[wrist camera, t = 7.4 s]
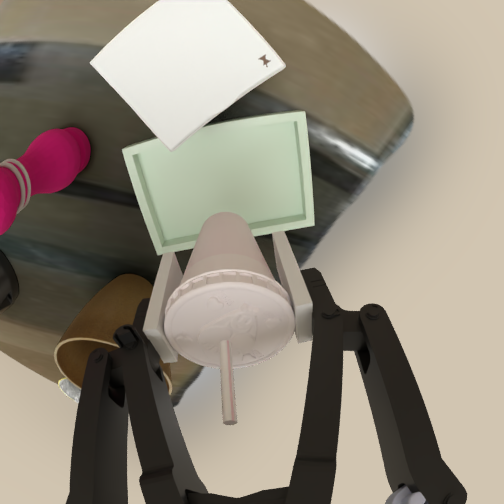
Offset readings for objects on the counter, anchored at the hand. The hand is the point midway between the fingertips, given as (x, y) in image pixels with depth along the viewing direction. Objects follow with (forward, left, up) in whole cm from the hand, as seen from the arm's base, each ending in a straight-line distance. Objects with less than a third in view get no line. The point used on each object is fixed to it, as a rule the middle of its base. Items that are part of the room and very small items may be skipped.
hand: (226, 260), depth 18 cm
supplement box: (0, +13, -17) cm, 21 cm away
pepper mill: (-18, +9, -17) cm, 26 cm away
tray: (0, 0, -17) cm, 17 cm away
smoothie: (0, 0, -4) cm, 4 cm away
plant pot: (-17, -14, -17) cm, 28 cm away
